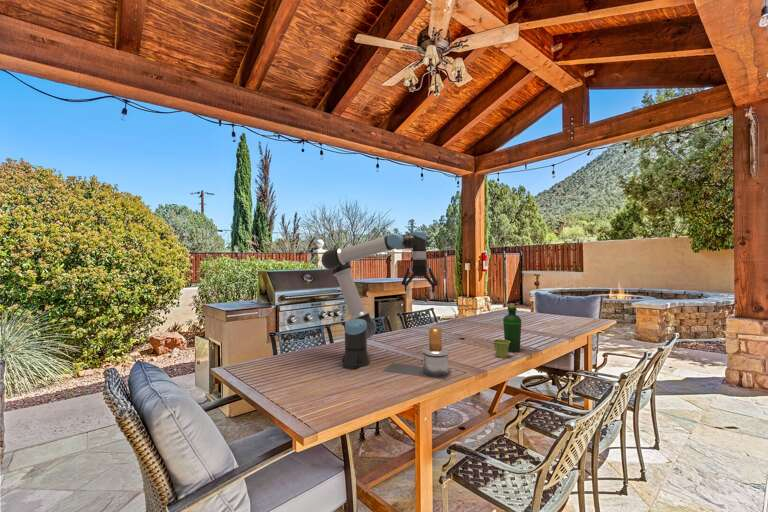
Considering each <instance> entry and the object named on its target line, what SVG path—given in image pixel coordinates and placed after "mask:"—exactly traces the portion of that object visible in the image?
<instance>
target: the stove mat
mask: <svg viewBox="0 0 768 512" xmlns="http://www.w3.org/2000/svg"><path fill="white" fill-rule="evenodd" d="M381 372H385V373H393V374H398V375H399V374H401V375H408V376H415V377H421V378H422V377H423V378H430V379H431V378H432V379H437V380H438V379H439V380H443V381H444V380H445V381H446V380H447V378H449V376H450V375H451V373H452V372H453V370H451V369H448V375H447V376H445V377H429V376H426V375H424V373H423V366H418V365H411V364H404V363H396V362H395V363H394V362H392V363H390V364H389V365H388V366H386V367H385V368H383V369H382V370H381Z"/></svg>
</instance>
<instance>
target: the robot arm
mask: <svg viewBox="0 0 768 512" xmlns="http://www.w3.org/2000/svg"><path fill="white" fill-rule="evenodd" d="M395 249H396V250H401V249H412V250H411V251H412V268H411V267H407V268H406V273H405V274H404V275H405V276H404V277H403V279H402V282H401V285H402V286H404V292H405V293H406V299H409V298H410V283H411V282H412V281H413V280H414V278H415V277H424V278H425V279H426V281H427V282H428V283H429V284H430V287H429V288H430V297H429V298H430V300H432V299H434V293H435V291H436V286H438V285H439V282H438V280H437V278H436V276H435V274H434V272H433V268H432V267H428V268H427V260H426V259H427V232H426V231H425V230H414V231H412V233H411V234H400V233H398V232H393V233H391V234H389V235H385V236H382V237H378V238H375V239H372V240H368V241H365V242H362V243H357V244H354V245H351V246H348V247H344V248H341V247H336V248H333V249H327V250H326V251H324V252H323V254H322V256H321V258H320V259H321V260H320V261H321V264H322V266H323V268H325V269H326V270H329V271H331V275H332V276H333V277H335V278H336V280H337V281H338V285H339V287H340V290H341V293H342V296H343V298H344V301H345V304H346V306H347V309H348V311H349V314H350V318H349V320H347V321H346V322H345V324H344V353H343V356H342V360H341V367H342V368H345V369H350V370H359V369H360V368H363V367H366V366H367V367H368V366H369V365H370V364H371V359H370V355H369V353H368V352H369V351H368V348H367V347H368V346H367V345H368V342H367V341H368V339H370V338H371V337H373V335H374V334H375V333H376V330H377V329H376V328H377V325H376V322H375V320H374V319H373V318H372V317H371V315H370V312H368V311H366V310H365V307H364V304H363V301H362V299H361V296H360V294H359V291H358V289H357V286H356V284H355V281H354V278H353V276H352V273H351V272H352V269H353V267H352V266H351V263H352V262H351V261H357V260H359V259H363V258H366V257H369V256H374V255H377V254H381V253H383V252H388V251H391V250H395ZM411 272H412V274H411ZM427 272H428V273H429V275H430V276H429V275H428V274H427ZM410 274H411V276H409V275H410ZM430 277H431V278H430Z"/></svg>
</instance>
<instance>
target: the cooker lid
mask: <svg viewBox="0 0 768 512" xmlns="http://www.w3.org/2000/svg"><path fill="white" fill-rule="evenodd" d="M442 334H443V333H442V328H439V327H430V328H428V346H425V347H423V348H422V349H421V353H422V355H423V354H425V355H429V356H445V355H448V356H449V354H450V349H449V348H447V347H444V346H443V343H442V341H443V339H442V337H443V336H442Z"/></svg>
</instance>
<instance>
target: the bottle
mask: <svg viewBox="0 0 768 512" xmlns="http://www.w3.org/2000/svg"><path fill="white" fill-rule="evenodd" d="M515 305H516V304H515V303H509V304H508V306H507V309H506V310H507V311H508V314H506V315H505V316H504V317H503V318H502V320H503V321H502V322H503V337H504V339H503V340H508V341H510V343H509V347H508V353H509V352H510V353H519V352H520V351H521V336H522V335H521V334H522V319H521V318H520V316H519V315H517V314H516V313H517V311H518V309H517V306H515Z"/></svg>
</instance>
